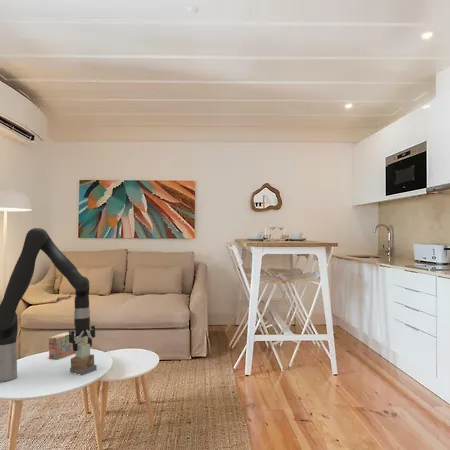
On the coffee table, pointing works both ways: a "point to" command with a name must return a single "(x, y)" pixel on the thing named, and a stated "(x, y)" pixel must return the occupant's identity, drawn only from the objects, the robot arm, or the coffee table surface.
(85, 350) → the sage block
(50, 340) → the stack of blocks
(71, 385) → the coffee table surface
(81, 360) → the walnut block
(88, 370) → the charcoal slab
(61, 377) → the coffee table surface
